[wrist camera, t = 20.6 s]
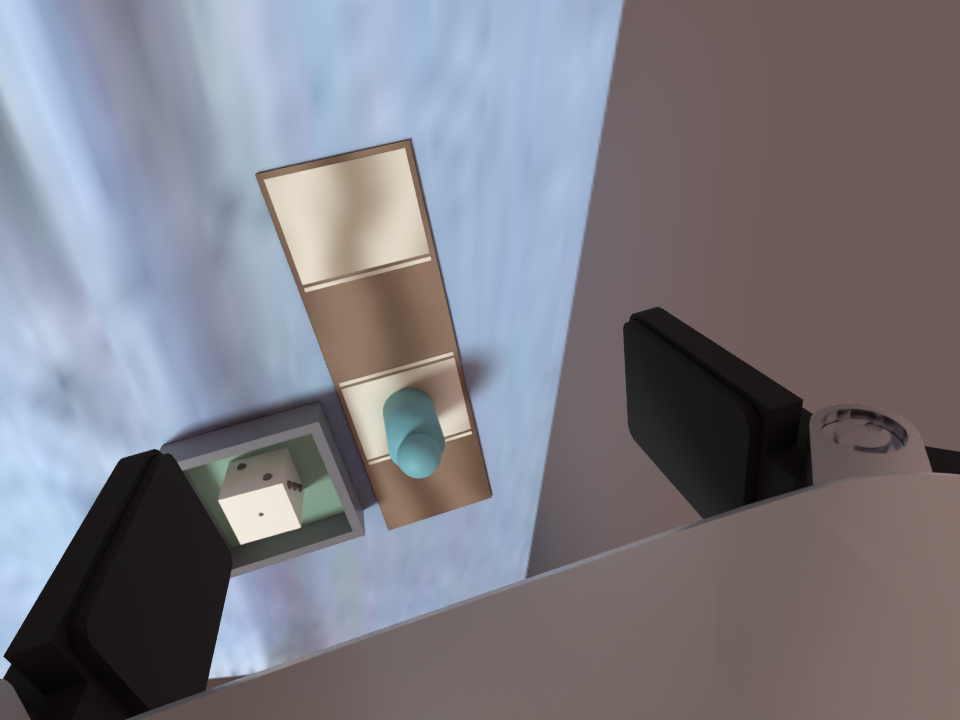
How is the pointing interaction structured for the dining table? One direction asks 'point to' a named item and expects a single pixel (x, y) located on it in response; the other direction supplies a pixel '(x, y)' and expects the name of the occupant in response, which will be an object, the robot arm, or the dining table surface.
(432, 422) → the pawn
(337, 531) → the tray
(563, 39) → the dining table surface
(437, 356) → the board
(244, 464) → the die
